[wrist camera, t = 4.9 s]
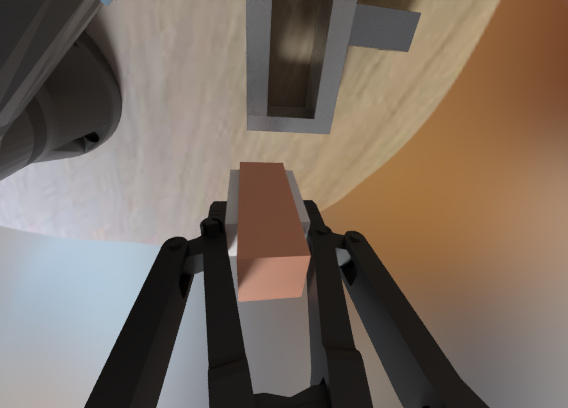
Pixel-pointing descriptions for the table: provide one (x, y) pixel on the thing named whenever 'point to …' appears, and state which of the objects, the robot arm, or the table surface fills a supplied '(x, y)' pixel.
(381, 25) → the hollow metal rectangle ring
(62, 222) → the table surface
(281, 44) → the table surface
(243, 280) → the terracotta clay brick
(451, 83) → the table surface
